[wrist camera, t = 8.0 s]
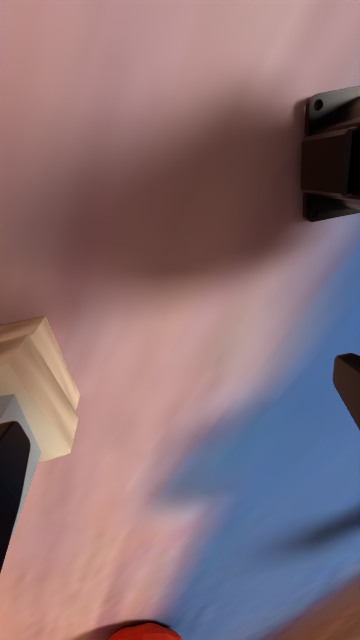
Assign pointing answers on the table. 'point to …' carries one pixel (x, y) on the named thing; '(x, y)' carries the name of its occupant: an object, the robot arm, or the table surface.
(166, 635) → the tomato
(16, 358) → the slab upper
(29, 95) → the table surface
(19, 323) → the slab lower
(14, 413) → the cube
